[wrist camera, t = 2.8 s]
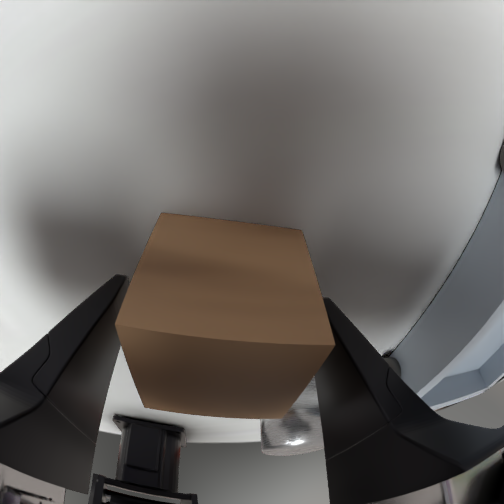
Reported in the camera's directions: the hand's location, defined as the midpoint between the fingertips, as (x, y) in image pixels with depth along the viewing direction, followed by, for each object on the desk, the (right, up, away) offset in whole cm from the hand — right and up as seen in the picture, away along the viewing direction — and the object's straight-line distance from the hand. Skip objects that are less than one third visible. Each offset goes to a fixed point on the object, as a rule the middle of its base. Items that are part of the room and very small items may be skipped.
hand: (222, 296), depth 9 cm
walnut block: (0, +1, +1) cm, 1 cm away
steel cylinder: (+3, -7, +7) cm, 10 cm away
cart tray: (+16, 0, +2) cm, 16 cm away
